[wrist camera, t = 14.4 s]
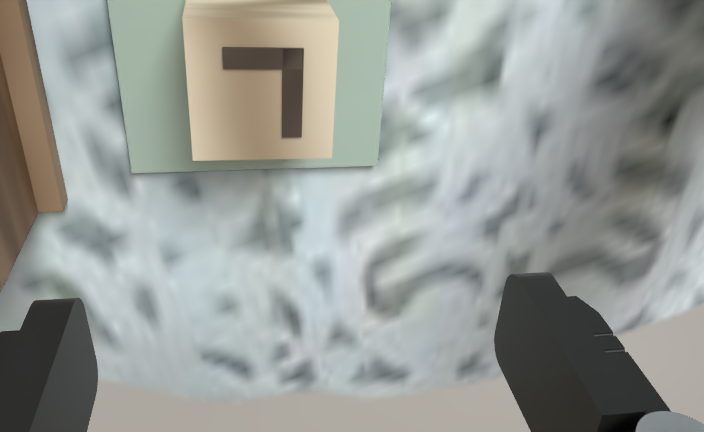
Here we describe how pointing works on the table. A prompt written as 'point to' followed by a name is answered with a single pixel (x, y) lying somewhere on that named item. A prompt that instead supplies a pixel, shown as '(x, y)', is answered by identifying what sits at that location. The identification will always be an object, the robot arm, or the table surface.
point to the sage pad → (172, 94)
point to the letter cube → (260, 78)
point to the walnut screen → (23, 137)
